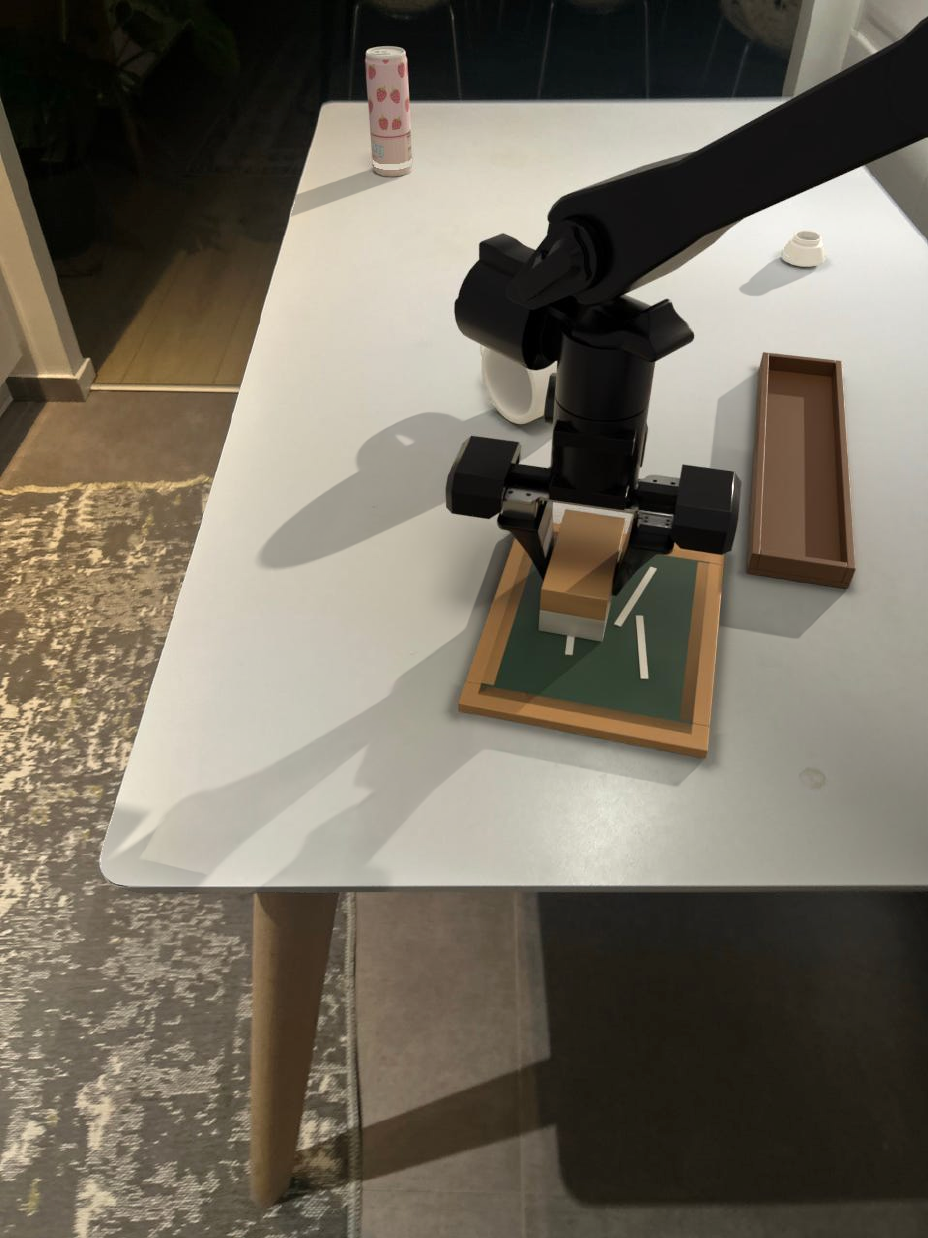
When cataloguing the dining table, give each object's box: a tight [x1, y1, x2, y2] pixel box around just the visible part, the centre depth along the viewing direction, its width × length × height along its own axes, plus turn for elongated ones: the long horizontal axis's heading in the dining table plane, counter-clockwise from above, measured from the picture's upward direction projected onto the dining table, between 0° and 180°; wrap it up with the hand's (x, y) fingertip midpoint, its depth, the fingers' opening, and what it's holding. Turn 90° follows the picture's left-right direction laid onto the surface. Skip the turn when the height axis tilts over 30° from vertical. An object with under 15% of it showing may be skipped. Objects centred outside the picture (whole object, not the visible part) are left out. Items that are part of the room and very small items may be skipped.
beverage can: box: [364, 45, 414, 178], centre depth 127 cm, size 6×6×15 cm
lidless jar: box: [780, 230, 826, 268], centre depth 108 cm, size 5×3×5 cm
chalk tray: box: [746, 351, 857, 589], centre depth 79 cm, size 7×31×2 cm, turn 166°
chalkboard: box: [457, 522, 726, 759], centre depth 66 cm, size 16×20×1 cm
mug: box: [479, 344, 557, 425], centre depth 86 cm, size 12×10×8 cm
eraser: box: [539, 508, 627, 642], centre depth 66 cm, size 9×4×4 cm, turn 165°
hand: (582, 586), depth 67 cm, fingers closed on eraser, 4 cm apart
